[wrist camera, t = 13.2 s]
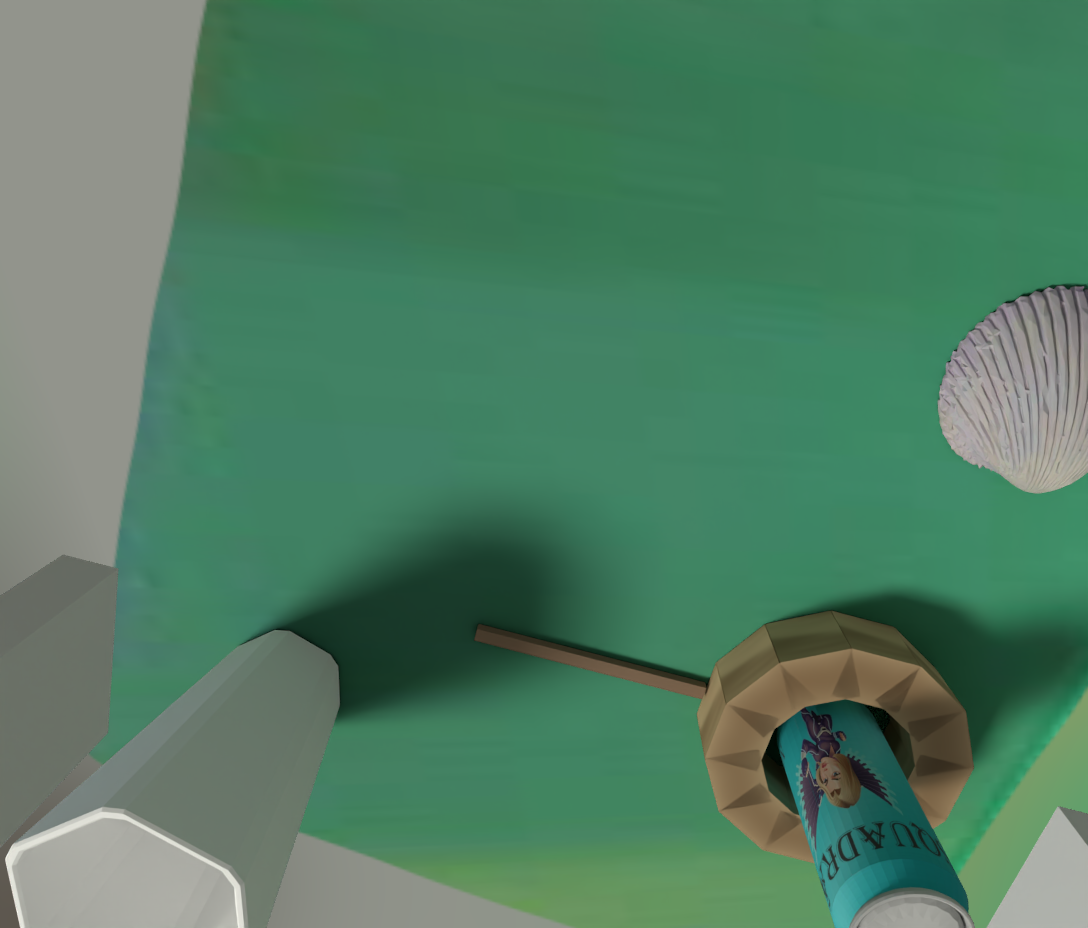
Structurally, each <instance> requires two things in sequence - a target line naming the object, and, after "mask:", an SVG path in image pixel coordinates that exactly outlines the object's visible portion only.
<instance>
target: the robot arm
mask: <svg viewBox="0 0 1088 928" xmlns="http://www.w3.org/2000/svg"><path fill="white" fill-rule="evenodd" d="M117 581H118V568H114V567H110V566H106V565H102V564H98V563H94V562H90V561H86V560H82V559H78V558H74V557H70V556H66V555H62V556H60V557H59V558H57V559H56V560H54V561H53V562H51V563H50V564H48V565H46V566H45V567H43V568H42V569H40V570H39V571H38V572H36V573H34V574H33V575H31V576H30V577H28V578H26V579H25V580H23V581H22V582H20V583H19V584H17V585H16V586H14V587H13V588H11V589H10V590H8V591H7V592H5V593H3V594H2V595H0V847H1V846H2V845H3V844H4V843H5V842H6V841H7V840H8V839H9V837H10V836H11V835H12V834H13V833H14V832H15V831H16V830H17V829H18V828H19V827H20V826H21V825H22V824H23V823H24V822H25V820H26V819H27V818H28V817H29V816H30V815H31V814H32V813H33V812H34V811H35V810H36V809H37V808H38V806H40V804H41V803H42V802H43V801H44V800H45V799H46V798H47V797H48V796H49V795H50V794H51V793H52V792H53V791H54V789H55V788H56V787H57V786H58V785H59V784H60V783H61V782H62V781H63V780H64V779H65V778H66V777H67V776H68V775H69V774H70V772H71V771H72V770H73V769H74V768H75V767H76V766H77V765H78V764H79V763H80V762H81V761H82V759H84V757H85V756H86V755H87V754H88V753H89V752H90V751H91V750H92V749H93V748H94V747H95V746H96V745H97V744H98V743H99V742H100V740H101V739H102V738H103V737H104V736H105V735H106V734H107V733H108V724H109V708H110V692H111V676H112V660H113V644H114V629H115V613H116V597H117ZM987 928H1088V814H1087V813H1083V812H1079V811H1075V810H1071V809H1067V808H1063V807H1059V806H1058V807H1057V809H1056V811H1055V812H1054V814H1053V816H1052V817H1051V819H1050V821H1049V822H1048V824H1047V826H1046V828H1045V829H1044V831H1043V832H1042V834H1041V836H1040V838H1039V839H1038V841H1037V843H1036V845H1035V846H1034V848H1033V850H1032V852H1031V853H1030V855H1029V856H1028V858H1027V860H1026V862H1025V863H1024V865H1023V867H1022V868H1021V870H1020V872H1019V874H1018V875H1017V877H1016V879H1015V880H1014V882H1013V884H1012V885H1011V887H1010V889H1009V890H1008V892H1007V894H1006V896H1005V898H1004V899H1003V901H1002V902H1001V904H1000V906H999V908H998V909H997V911H996V913H995V914H994V916H993V918H992V919H991V921H990V923H989V925H988V926H987Z"/></svg>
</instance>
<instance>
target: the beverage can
mask: <svg viewBox="0 0 1088 928" xmlns="http://www.w3.org/2000/svg"><path fill="white" fill-rule="evenodd" d="M777 746H778V749H779V752H780V755H781V758H782V762H783V765H784V768H785V771H786V774H787V777H788V781H789V784H790V787H791V790H792V793H793V796H794V799H795V803H796V806H797V809H798V812H799V815H800V818H801V821H802V825H803V828H804V831H805V834H806V837H807V840H808V844H809V847H810V850H811V853H812V856H813V859H814V862H815V866H816V869H817V872H818V875H819V878H820V881H821V885H822V888H823V891H824V894H825V897H826V900H827V903H828V907H829V910H830V913H831V916H832V919H833V922H834V925H835V928H975V926H974V923H973V921H972V919H971V917H970V915H969V914H968V899H967V895H966V892H965V890H964V888H963V886H962V884H961V882H960V880H959V878H958V876H957V874H956V872H955V871H954V869H953V867H952V865H951V863H950V861H949V859H948V857H947V855H946V853H945V851H944V850H943V848H942V846H941V844H940V842H939V840H938V838H937V836H936V834H935V832H934V830H933V829H932V827H931V825H930V823H929V821H928V819H927V817H926V815H925V813H924V811H923V809H922V807H921V806H920V804H919V802H918V800H917V798H916V796H915V794H914V792H913V790H912V788H911V786H910V785H909V783H908V781H907V779H906V777H905V775H904V773H903V771H902V769H901V767H900V765H899V764H898V762H897V760H896V758H895V756H894V754H893V752H892V750H891V748H890V746H889V744H888V742H887V741H886V739H885V737H884V735H883V733H882V731H881V729H880V727H879V725H878V723H877V721H876V720H875V718H874V716H873V714H872V713H871V712H870V710H869V709H868V708H867V707H866V706H864V705H863V704H862V703H859V702H855V701H851V700H847V699H844V700H838V701H833V702H828V703H822V704H817V705H812V706H806V707H804V708H803V709H801V710H800V711H799V712H797V713H796V714H795V715H793V716H792V717H791V718H789V719H788V720H786V721H785V722H784V723H782V724H781V725H780V726H778V729H777Z"/></svg>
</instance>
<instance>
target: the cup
mask: <svg viewBox="0 0 1088 928" xmlns="http://www.w3.org/2000/svg"><path fill="white" fill-rule="evenodd" d="M339 707H340V695H339V671H338V665H337V664H336V662H335V661H334V659H333V658H332V656H331V655H330V654H329V653H327V652H325V651H323V650H322V649H320V648H318V647H317V646H315V645H313V644H311V643H310V642H308V641H306V640H304V639H303V638H301V637H299V636H298V635H296V634H294V633H292V632H291V631H283V630H273V631H271V632H269V633H267V634H265V635H262V636H260V637H258V638H256V639H254V640H251V641H249V642H247V643H245V644H242V645H240V646H238V647H237V648H236V649H234V650H233V651H232V652H231V653H230V654H229V655H228V656H226V657H225V658H224V659H223V660H222V661H221V662H220V663H218V664H217V665H216V666H215V667H214V668H213V669H212V670H210V671H209V672H208V673H207V674H206V675H205V676H204V677H203V678H201V679H200V680H199V681H198V682H197V683H196V684H195V685H193V686H192V687H191V688H190V689H189V690H188V691H187V692H185V693H184V694H183V695H182V696H181V697H180V698H179V699H177V700H176V701H175V702H174V703H173V704H172V705H171V706H170V707H168V708H167V709H166V710H165V711H164V712H163V713H162V714H160V715H159V716H158V717H157V718H156V719H155V720H154V721H152V722H151V723H150V724H149V725H148V726H147V727H146V728H144V729H143V730H142V731H141V732H140V733H139V734H138V735H137V736H135V737H134V738H133V739H132V740H131V741H130V742H129V743H127V744H126V745H125V746H124V747H123V748H122V749H121V750H119V751H118V752H117V753H116V754H115V755H114V756H113V757H111V758H110V759H109V760H108V761H107V762H106V763H105V764H104V765H102V766H101V767H100V768H99V769H98V770H97V771H96V772H94V773H93V774H92V775H91V776H90V777H89V778H88V779H86V780H85V781H84V782H83V783H82V784H81V785H80V786H78V787H77V788H76V789H75V790H74V791H73V792H72V793H71V794H69V795H68V796H67V797H66V798H65V799H64V800H63V801H62V802H60V803H59V804H58V805H57V806H56V807H55V808H54V809H52V810H51V811H50V812H49V813H48V814H47V815H45V816H44V817H43V818H42V819H41V820H40V821H39V822H38V823H36V824H35V825H34V826H33V827H32V828H31V829H30V830H28V831H27V832H26V833H25V834H24V835H23V836H22V837H20V838H19V839H18V840H17V841H16V842H15V843H14V844H13V845H12V847H11V849H10V850H9V853H8V854H7V856H6V859H5V860H6V865H7V869H8V874H9V879H10V883H11V888H12V892H13V897H14V901H15V906H16V910H17V914H18V919H19V923H20V928H266V927H267V924H268V921H269V918H270V915H271V912H272V909H273V906H274V903H275V900H276V897H277V894H278V891H279V888H280V885H281V882H282V879H283V876H284V873H285V870H286V867H287V864H288V861H289V858H290V855H291V851H292V849H293V846H294V843H295V840H296V837H297V834H298V831H299V828H300V825H301V822H302V819H303V816H304V813H305V809H306V806H307V803H308V800H309V797H310V794H311V791H312V788H313V785H314V782H315V779H316V776H317V773H318V770H319V767H320V764H321V761H322V758H323V755H324V752H325V749H326V746H327V743H328V740H329V737H330V734H331V731H332V728H333V725H334V722H335V719H336V716H337V713H338V710H339Z"/></svg>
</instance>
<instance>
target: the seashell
mask: <svg viewBox="0 0 1088 928" xmlns="http://www.w3.org/2000/svg"><path fill="white" fill-rule="evenodd" d="M1083 288H1084V286H1083V287H1076V286H1075V287H1071V288H1070V289H1069V290H1067V289H1066V288H1065V287H1064V286H1057V287H1056V288H1054V289H1052V288H1050V287H1049V288H1047V289H1045V290H1044V291H1043V292H1038V291H1035V292H1033V293H1032V294H1031V295H1030V296H1020V297H1019V298H1018V299H1017V300H1015V301H1014V302H1012V303H1004V304H1002V306H999V307H998V308H997V310H996V312H994V313H990V314H989V315H988V316H986V317H985V320H984V322H979V323H978V324H977V325H976V326H975V329H974V330H973V331H969V333H968V334H967V336H966V338H965V339H964V340H963V341H961V342H960V343H959V346H958V349H957V352H956V351H953V355H952V356H951V362H947V364H946V375H945V376H944V377H943V380H942V385H940V392H939V395H940V399H939V400H938V413H939V417H940V421H939V422H940V425H941V428H942V433H943V435H944V436H945V437H946V439H947V440H948V441H947V442H948V443H949V444H950V446H951V449H953V450H954V451H955V452H956V454H958V455H960V456H961V457H963V459H964V460H967V461H968V462H969V463H971V464H973V465H975V464H978V467H979V468H981V467H982V466H984V467H985V468H989V469H991V471H992V470H994V471H995V472H997V473H998V474H1001V476H1002V477H1004V478H1005V479H1006V480H1008V481H1009V482H1010V483H1012V484H1013V485H1014V486H1016V487H1018V488H1019V489H1021V490H1023V491H1026V492H1031V493H1044V492H1049V491H1053V490H1057V489H1060V488H1062V487H1064V486H1067V485H1069V484H1071V483H1073V482H1075V481H1076V480H1078V479H1079V478H1081V477H1082V476H1084V475H1085V474H1086V473H1088V289H1086V290H1084V291H1083Z"/></svg>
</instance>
